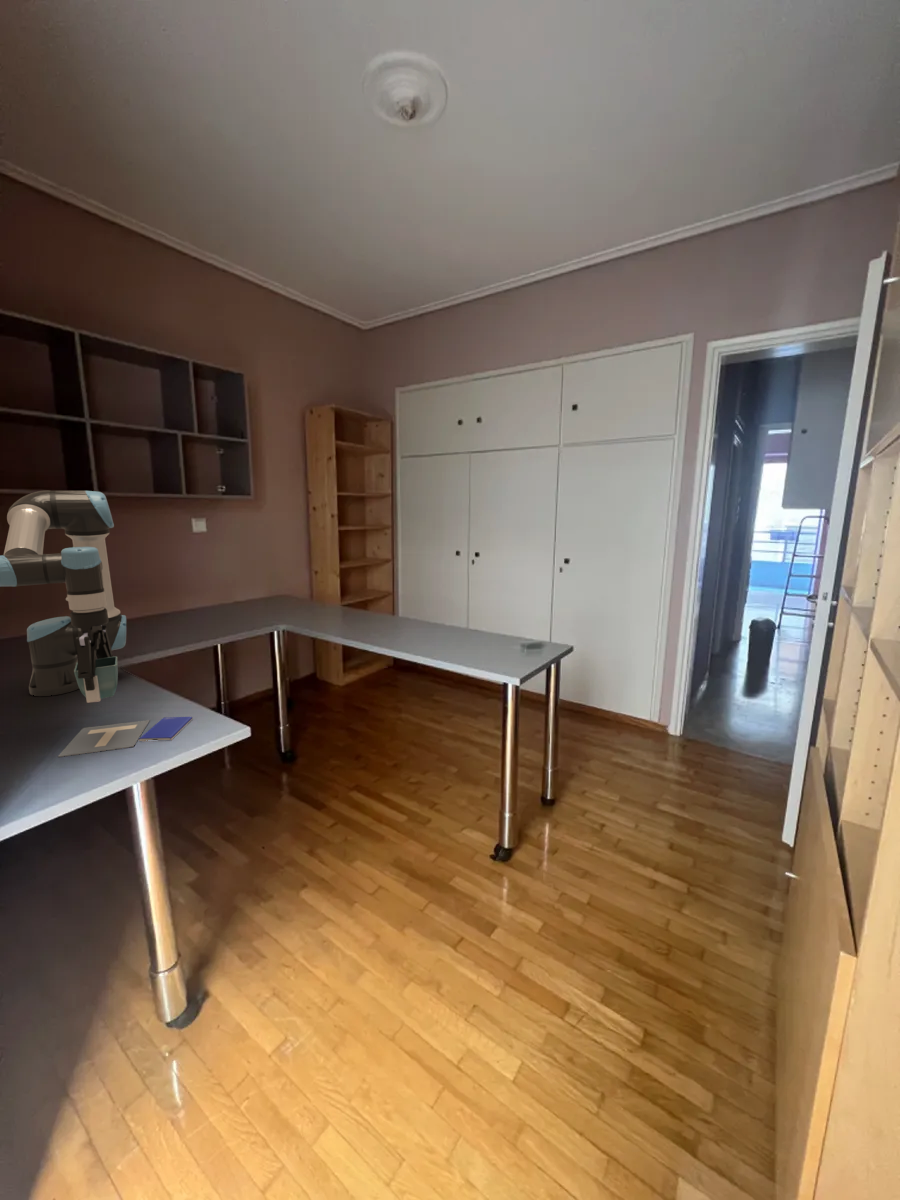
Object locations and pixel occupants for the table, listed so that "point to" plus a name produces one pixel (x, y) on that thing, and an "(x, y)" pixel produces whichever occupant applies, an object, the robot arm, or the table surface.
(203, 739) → the table surface
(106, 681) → the flower pot
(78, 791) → the table surface
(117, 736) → the letter card
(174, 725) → the blue book
